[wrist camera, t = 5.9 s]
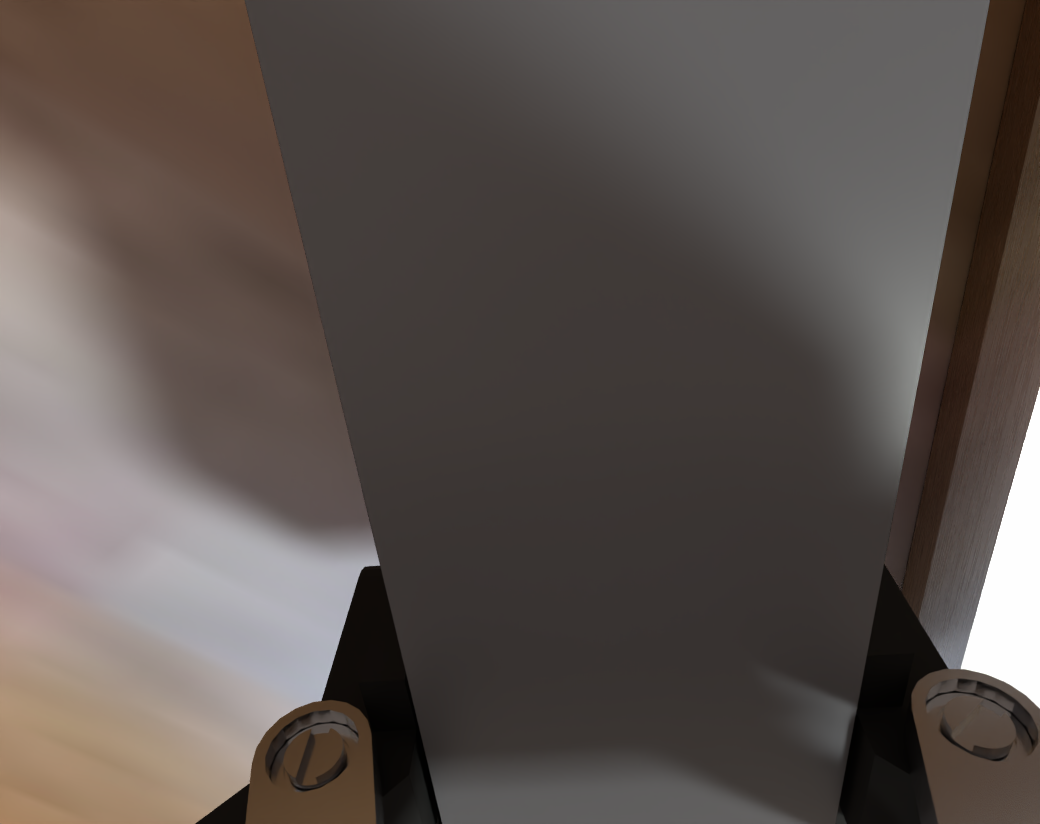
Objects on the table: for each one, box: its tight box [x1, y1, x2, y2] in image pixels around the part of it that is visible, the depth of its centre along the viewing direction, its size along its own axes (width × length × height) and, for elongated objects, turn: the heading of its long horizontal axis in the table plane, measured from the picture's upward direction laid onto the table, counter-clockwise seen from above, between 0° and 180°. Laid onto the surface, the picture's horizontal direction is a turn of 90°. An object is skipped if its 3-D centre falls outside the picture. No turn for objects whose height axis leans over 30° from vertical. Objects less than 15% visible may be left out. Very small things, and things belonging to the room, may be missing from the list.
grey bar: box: [245, 0, 990, 824], centre depth 11 cm, size 4×18×7 cm, turn 5°
